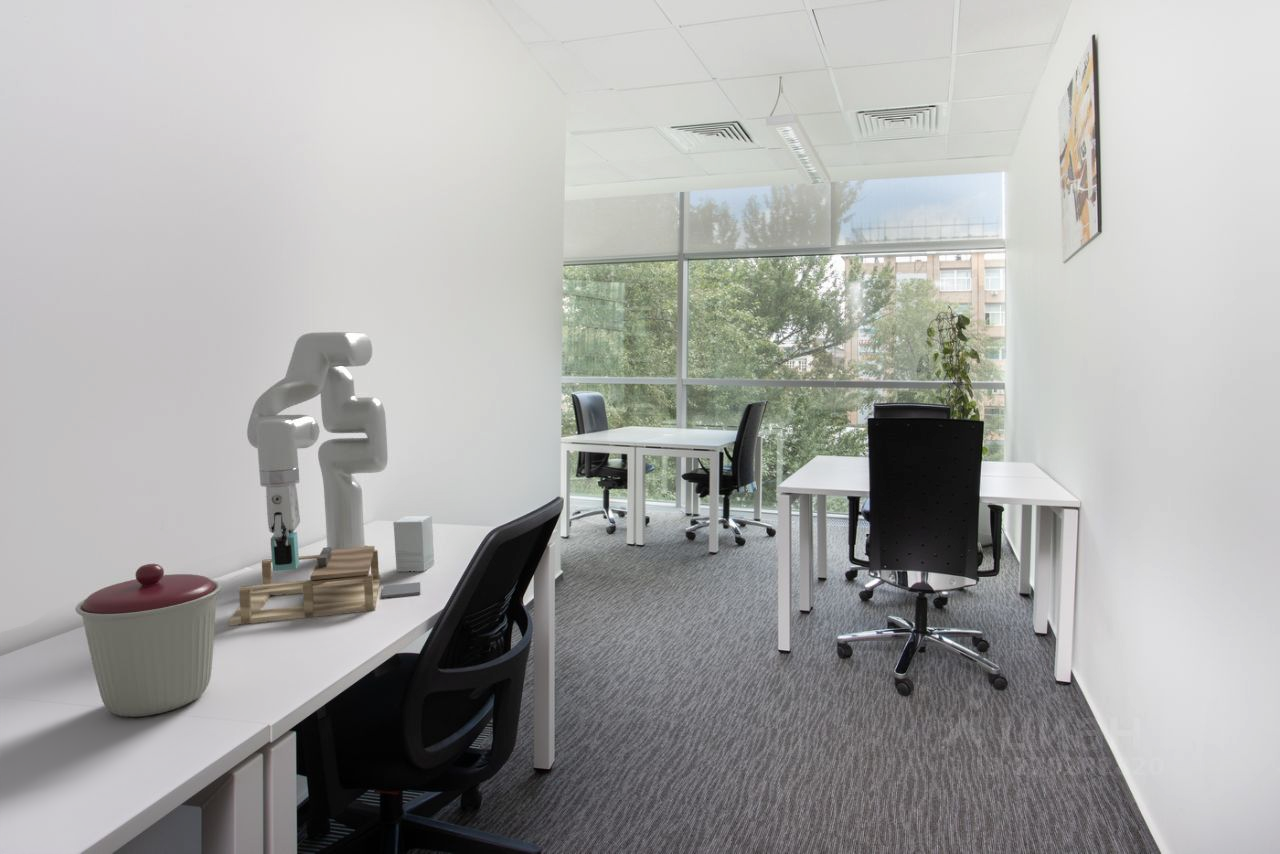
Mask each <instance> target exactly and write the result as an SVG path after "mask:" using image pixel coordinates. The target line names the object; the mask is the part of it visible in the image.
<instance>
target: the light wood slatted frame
mask: <svg viewBox="0 0 1280 854" xmlns="http://www.w3.org/2000/svg"><path fill="white" fill-rule="evenodd" d="M319 555H320V554H316V555H315V554H314V555H305V556H304V555H303V556H299V561H302V560H304V561H305V560H312V559H316V564H317V563H318V557H319ZM261 571H262V573H261V574H262V584H252V585H243V586H240V587H239V588H238V593H239V607H238V608H237V610H236V611H235V613H233V615H232V616H231V617H230V619H229V620H228V624H229V625H231V626H237V625H238V624H241V625H248V623H250V624H257V623H258V622H259V623H265V622H267V621H269V622H275V621H277V622H278V621H285V620H286V619H287V620H295V619H305V618H313V617H322V616H331V615H332V616H333V614H334V615H340V614H341V615H342V613H343V614H350V612H352V613H360V612H359V611H362V612H368V611H370V610H371V611H376V609H377V608H376V607H377V601H378V597H377V596H378V595H379V590H380V584H381V575H380V571H379V552H378V549H375V550H374V554H373V558H372V562H371V566H370V573H369V575H359V576H349V577H338V578H327V579H317V580H311V579H307V580H306V579H304V580H294V581H285V582H284V581H283V582H274V583H273V574H272V572H273V571H272V558H269V559H262V560H261ZM282 594H286V595H293V594H294V595H296V594H303V595H302V596H303V605H299V606H290V607H279V608H271V609H263V608H264V606H265V604H266V603H267V601H268V600H269V598H270V597H271V596H270V595H276V596H283V595H282ZM269 596H270V597H269ZM267 599H268V600H267ZM265 602H266V603H265ZM263 605H264V606H263ZM261 608H262V609H261ZM357 611H358V612H357ZM238 626H239V625H238Z"/></svg>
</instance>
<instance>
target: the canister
mask: <svg viewBox="0 0 1280 854" xmlns="http://www.w3.org/2000/svg"><path fill="white" fill-rule="evenodd" d="M164 570H165V569H164V567H162V566H161V565H160V564H157V563H149V564H148V563H147V564H143V565H141V566H139V567H138V568H137V570H136V572H135V579H131V580H125V581H122V582H119V583H115V584H111V585H108V586H105V587H103V588H101V589H98V590H96V591H95V592H93V593H91V594H90V595H88V597H86V598H85V599H83V600H82V601H80V602H79V603H78V604H76V606H75V612H76V613H77V614H78V615H79V616H81V617H82V621H83V626H84V632H85V636H86V639H87V640H86V641H87V645H88V650H89V653H90V658H91V662H92V666H93V667H92V669H93V671H94V675H95V680H96V684H97V687H98V691H99V694H100V698H101V700H102V703H103V705H104V706H105V708H106V709H107V710H108V711H109V712H110V713H112V714H114V715H116V716H120V717H125V718H126V717H129V716H130V717H131V718H133V717H137V718H138V717H147V716H154V715H157V714H162V713H167V712H169V711H174V710H177V709H180V708H181V707H184V706H187V705H188V704H190V703H192V702H193V701H195V700H197V699H198V698H199V697H201V696H202V695H203V694H204V692H205V691H206V690H207V688H208V686H209V684H210V682H211V678H212V668H213V659H214V658H213V657H214V643H215V642H214V641H215V626H216V625H215V624H216V609H217V595H218V593H219V592H220V591H221V589H222V585H221V583H220V582H218V581H216V580H214V579H210V578H208V577H206V576H203V575H198V574H189V573H188V574H186V573H179V574H178V573H177V574H165V571H164ZM130 717H129V718H130Z"/></svg>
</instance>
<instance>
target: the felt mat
mask: <svg viewBox="0 0 1280 854" xmlns="http://www.w3.org/2000/svg"><path fill="white" fill-rule="evenodd" d="M420 595H421V581H420V582H408V583H399V584H398V583H397V584H389V585H388V584H387V585H383V587H382V593H381V599H389V598H388V597H391V598H399V597H400V596H401V597H407V596H408V597H409V596H420Z"/></svg>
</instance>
